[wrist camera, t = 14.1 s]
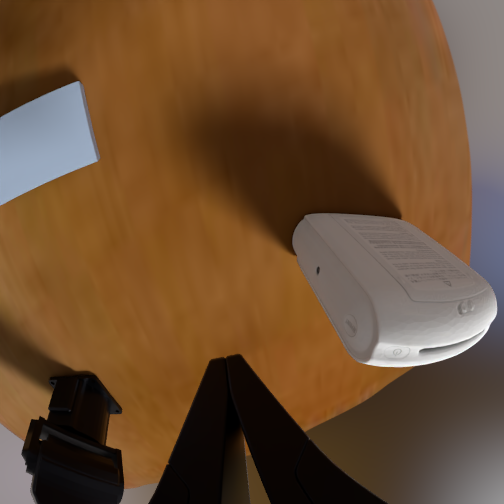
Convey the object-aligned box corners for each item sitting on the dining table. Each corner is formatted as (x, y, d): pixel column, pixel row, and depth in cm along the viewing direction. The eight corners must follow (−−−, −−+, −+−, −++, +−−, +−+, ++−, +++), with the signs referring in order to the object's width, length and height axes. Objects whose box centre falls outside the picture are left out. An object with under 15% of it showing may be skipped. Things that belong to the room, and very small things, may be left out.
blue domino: (97, 161, 14) (-32, 224, 12) (100, 158, 16) (-21, 215, 13) (78, 80, 12) (-53, 152, 9) (83, 85, 14) (-40, 149, 11)
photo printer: (285, 263, 22) (357, 402, 11) (294, 207, 20) (395, 327, 9) (397, 261, 24) (489, 356, 13) (410, 215, 22) (521, 298, 11)
